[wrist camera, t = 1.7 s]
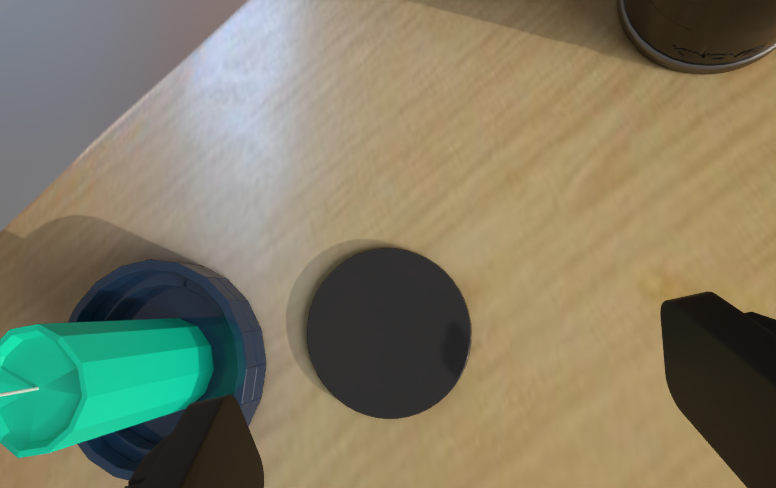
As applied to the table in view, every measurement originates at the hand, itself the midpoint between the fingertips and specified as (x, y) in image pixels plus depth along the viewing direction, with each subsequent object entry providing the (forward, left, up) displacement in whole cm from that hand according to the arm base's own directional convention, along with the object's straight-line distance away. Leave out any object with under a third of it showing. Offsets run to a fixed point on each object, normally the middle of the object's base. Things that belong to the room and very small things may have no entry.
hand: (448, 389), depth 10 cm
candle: (+5, -20, -21) cm, 29 cm away
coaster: (+1, -6, -21) cm, 22 cm away
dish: (+5, -20, -21) cm, 29 cm away
